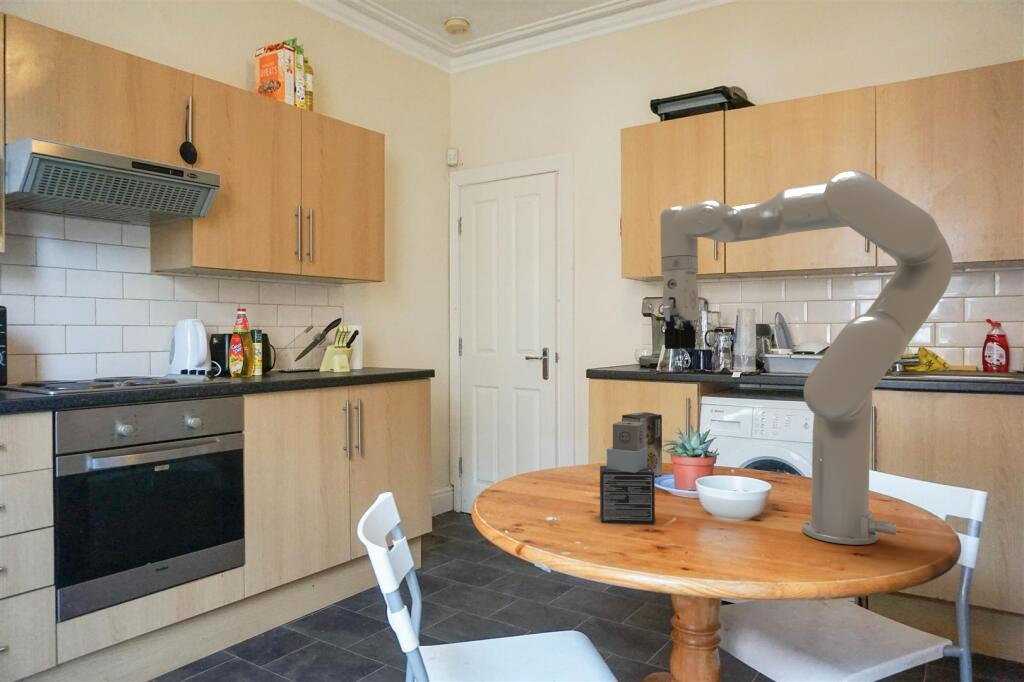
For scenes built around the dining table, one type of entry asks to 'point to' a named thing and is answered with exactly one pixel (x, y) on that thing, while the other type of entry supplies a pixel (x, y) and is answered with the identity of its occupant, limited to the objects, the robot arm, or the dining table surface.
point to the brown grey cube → (628, 436)
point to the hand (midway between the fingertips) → (680, 348)
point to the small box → (627, 496)
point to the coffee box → (650, 437)
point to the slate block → (626, 460)
